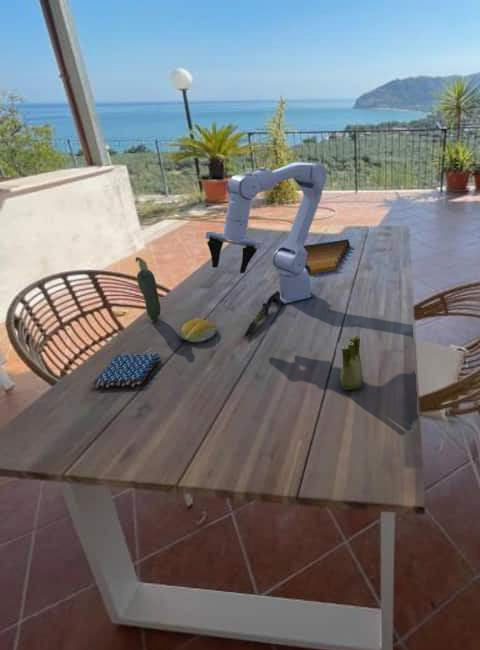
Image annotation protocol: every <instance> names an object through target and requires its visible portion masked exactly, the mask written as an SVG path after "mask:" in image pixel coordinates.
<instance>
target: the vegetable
mask: <svg viewBox="0 0 480 650" xmlns="http://www.w3.org/2000/svg"><path fill="white" fill-rule="evenodd" d="M135 263H138V267H139V271H138V272H137V274H136V282H137V285H138V288H139V290H140V293H141V295H142V297H143V300H144V303H145V309H146V315H147V316H148V317H149V319H150V321H154V322H155V321H156V320H158V318H159V317H160V315H161V303H160V298H159V293H158V288H157V282H156V278H155V275H154V273H153V271H152V270H150V269H149V267H148V264H147V262H146V261H145V260H144V259H143V258H142V257H139V256H136V257H135Z"/></svg>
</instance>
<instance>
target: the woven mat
mask: <svg viewBox="0 0 480 650" xmlns="http://www.w3.org/2000/svg"><path fill="white" fill-rule="evenodd" d="M159 355H160V354H159V353H153V352H152V353H149V354H147V353H146V352H145V353H137V354H135V353H132V354H118V355H116V356H115V357H114V359H113V360H112V361H111V362H110V364H108V365H107V366H106V367H105V369H104V370H103V371H102V372H101V373H100V374H99V376H98V377H97V378H95V381H94V382H93V383H94V384H96V385H95V386H94V388H96V389H98V388H99V387H100V386H101V387H103V386H105V388H106V389H107V388H109V387H110V386H115V385H116V386H117V387H120V385H121V387H126V385H127V386H131V387H132V388H133V387H135V386H136V385H138V386H139V385H141V384H142V383H143V382H144V381H145V380H146V378H147V377H148V375H149V373H150V372H151V371H152V370H153V368H154V367H155V364H156V363H157V362H158V360H159V359H160V358H161V356H159Z"/></svg>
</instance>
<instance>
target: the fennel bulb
mask: <svg viewBox="0 0 480 650" xmlns="http://www.w3.org/2000/svg"><path fill="white" fill-rule="evenodd" d="M360 345H361V337H360V335H355V336H354V337H350V338H349V341H348V346H346V345H342V346H341V352H342V368H341V370H340V371H341V372H340V377H339V378H340V384H341V387H342V388H343V390H344V391H354V390H355V391H356V390H358V389H360V388H361V387H362V386H363V384H364V375H363V367H362V360H361V355H360Z"/></svg>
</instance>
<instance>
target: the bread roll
mask: <svg viewBox="0 0 480 650" xmlns="http://www.w3.org/2000/svg"><path fill="white" fill-rule="evenodd" d="M216 331H217V326H216V324H215V323H213V322H211V321H207V320H206V319H203V318H193V319H190V320H188V321H187V322H186V323H184V324H183V326H182V328H181V330H180V335H181V337H182V339H183V340H184V341H187V342H189V343H201V342H202V343H203V342H204V341H207V340H209V339H211V338H212V337H213V336H214V335H215V334H216Z"/></svg>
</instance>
